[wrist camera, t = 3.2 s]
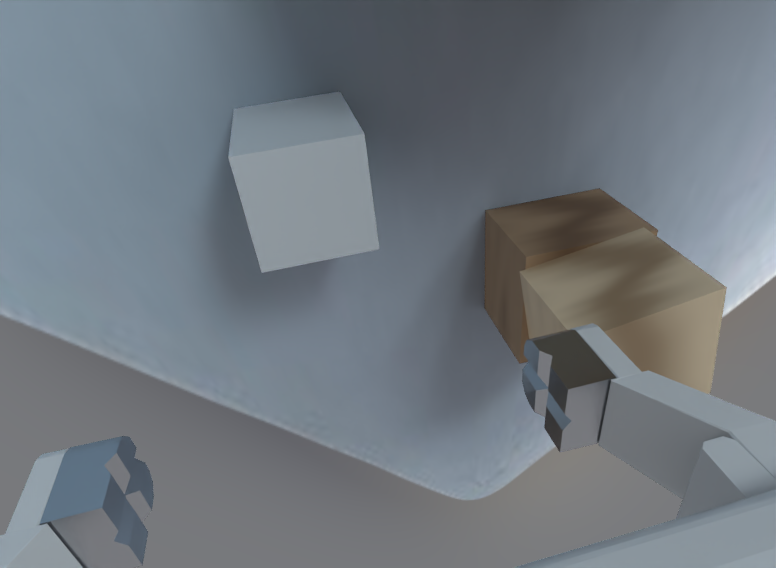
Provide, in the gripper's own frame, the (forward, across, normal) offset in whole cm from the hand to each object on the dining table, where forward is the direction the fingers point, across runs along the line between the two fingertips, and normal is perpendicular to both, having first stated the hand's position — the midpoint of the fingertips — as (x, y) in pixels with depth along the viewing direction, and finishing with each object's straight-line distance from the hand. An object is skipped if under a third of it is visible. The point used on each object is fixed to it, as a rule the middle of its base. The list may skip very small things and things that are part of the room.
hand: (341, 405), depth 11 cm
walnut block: (+15, -12, +8) cm, 21 cm away
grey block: (+15, 0, 0) cm, 15 cm away
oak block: (+10, -12, +8) cm, 18 cm away
